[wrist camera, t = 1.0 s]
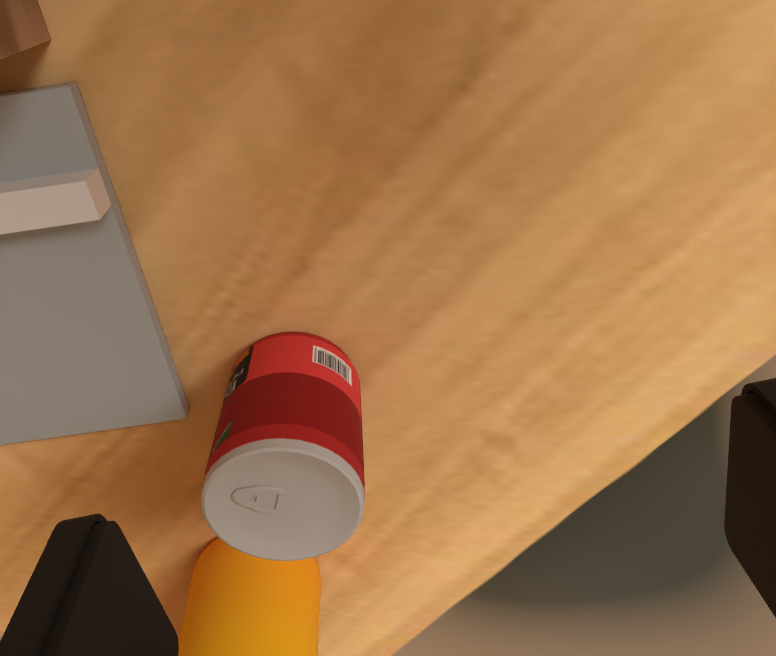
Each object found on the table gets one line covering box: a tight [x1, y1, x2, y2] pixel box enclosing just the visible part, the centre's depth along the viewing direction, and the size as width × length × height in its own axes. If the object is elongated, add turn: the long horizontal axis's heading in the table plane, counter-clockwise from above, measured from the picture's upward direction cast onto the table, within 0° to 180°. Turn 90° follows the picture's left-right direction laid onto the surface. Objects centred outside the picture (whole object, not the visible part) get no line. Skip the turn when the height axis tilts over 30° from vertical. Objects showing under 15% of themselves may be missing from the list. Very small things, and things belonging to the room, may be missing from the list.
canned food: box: [201, 332, 365, 561], centre depth 39 cm, size 8×8×11 cm
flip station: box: [0, 82, 190, 445], centre depth 38 cm, size 20×14×3 cm
